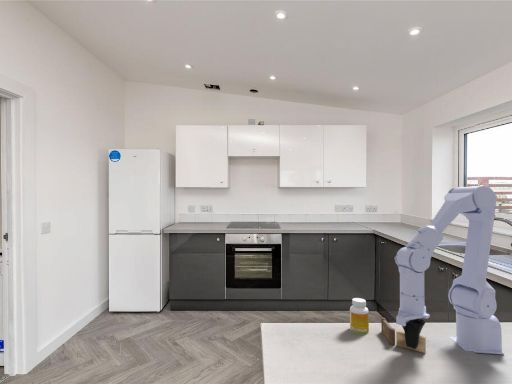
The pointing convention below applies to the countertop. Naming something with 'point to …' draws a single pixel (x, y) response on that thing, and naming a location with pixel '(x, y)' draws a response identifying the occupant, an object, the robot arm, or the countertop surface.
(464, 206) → the robot arm
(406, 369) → the countertop surface
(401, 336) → the wooden flat block
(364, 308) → the supplement bottle
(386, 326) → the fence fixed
